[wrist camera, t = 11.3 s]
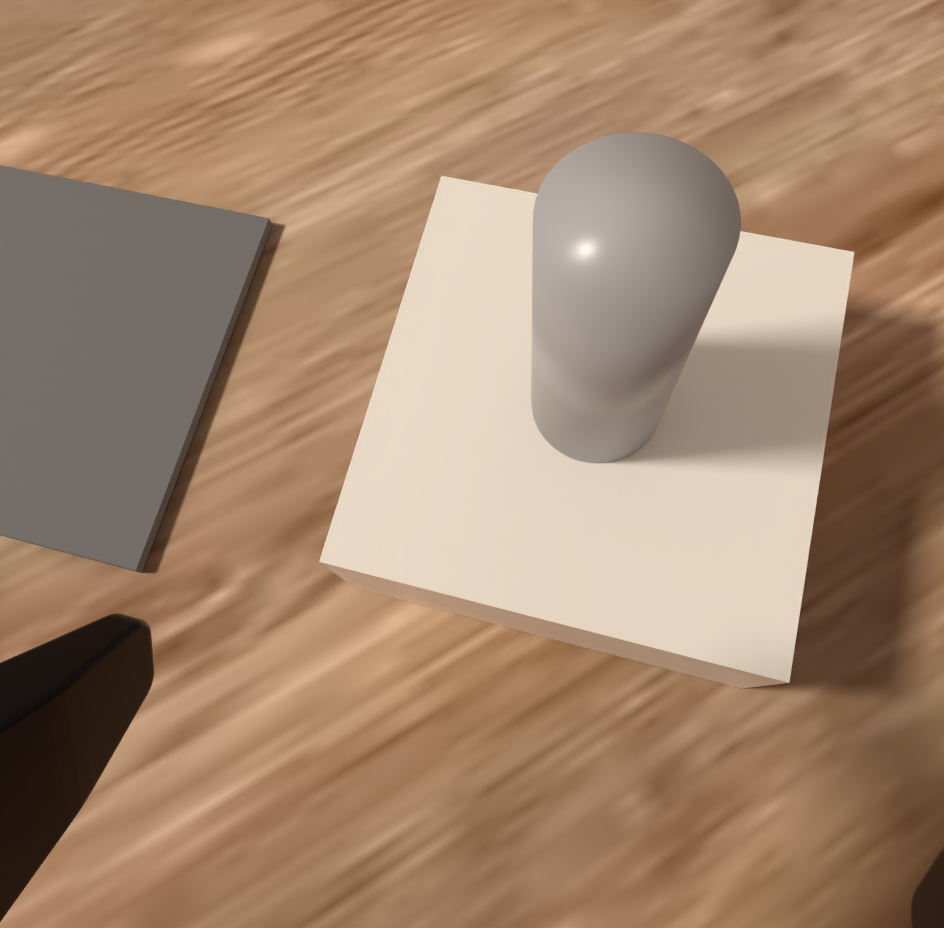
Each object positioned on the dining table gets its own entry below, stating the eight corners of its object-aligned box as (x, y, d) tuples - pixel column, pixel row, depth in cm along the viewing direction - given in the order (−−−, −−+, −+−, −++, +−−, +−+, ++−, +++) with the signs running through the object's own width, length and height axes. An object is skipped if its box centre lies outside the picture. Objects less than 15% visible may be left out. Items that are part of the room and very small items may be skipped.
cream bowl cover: (741, 688, 22) (974, 660, 10) (354, 587, 23) (188, 467, 12) (802, 326, 25) (1035, -4, 13) (454, 257, 26) (398, -93, 15)
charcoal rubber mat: (141, 573, 24) (135, 570, 24) (-206, 479, 26) (-217, 476, 25) (272, 225, 27) (268, 218, 27) (-44, 162, 29) (-52, 155, 28)
